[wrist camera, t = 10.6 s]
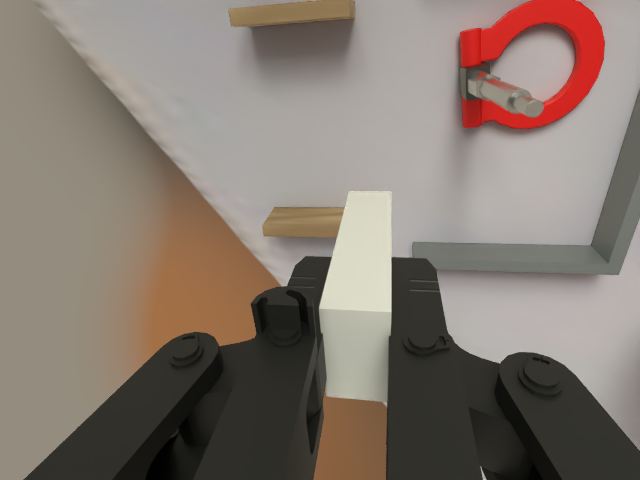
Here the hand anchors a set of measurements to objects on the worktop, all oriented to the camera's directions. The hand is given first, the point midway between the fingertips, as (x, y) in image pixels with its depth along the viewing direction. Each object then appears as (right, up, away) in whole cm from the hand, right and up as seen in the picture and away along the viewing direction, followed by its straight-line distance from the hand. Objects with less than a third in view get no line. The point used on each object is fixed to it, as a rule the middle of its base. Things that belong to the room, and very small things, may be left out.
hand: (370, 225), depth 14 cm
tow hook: (+13, +12, +14) cm, 22 cm away
